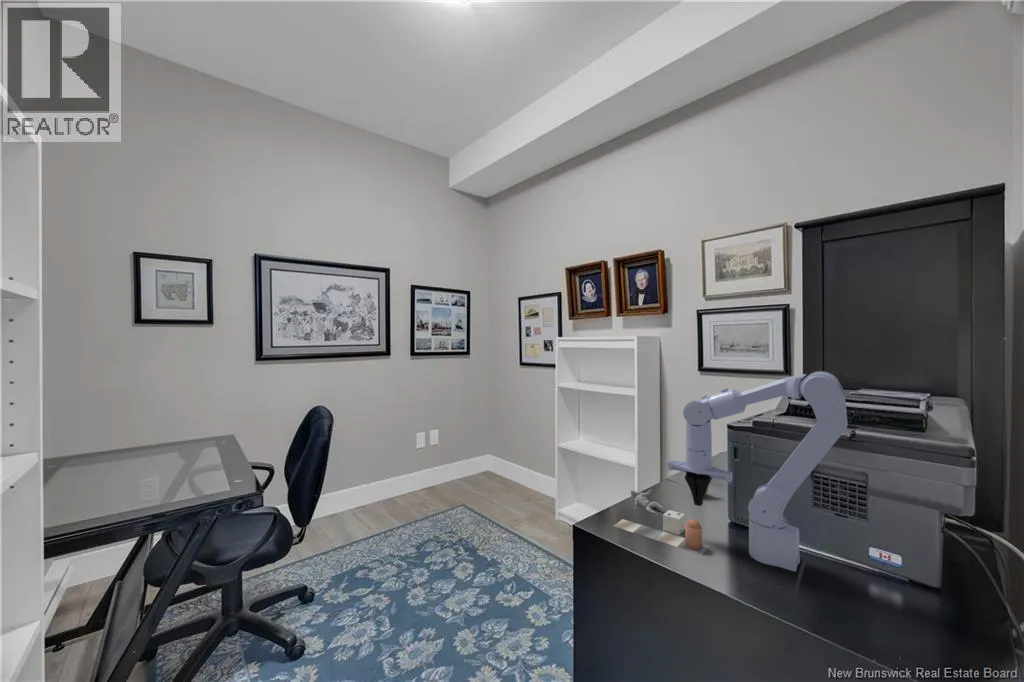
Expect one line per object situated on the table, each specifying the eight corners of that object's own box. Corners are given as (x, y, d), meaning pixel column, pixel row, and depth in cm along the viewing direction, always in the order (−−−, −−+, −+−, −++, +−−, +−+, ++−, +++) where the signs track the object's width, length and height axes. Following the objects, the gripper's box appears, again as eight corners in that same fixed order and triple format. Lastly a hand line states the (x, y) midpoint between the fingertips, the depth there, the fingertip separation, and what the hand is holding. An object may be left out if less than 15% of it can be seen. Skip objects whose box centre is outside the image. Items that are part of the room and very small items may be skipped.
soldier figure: (649, 523, 113) (619, 496, 122) (655, 531, 115) (625, 503, 125) (668, 502, 114) (636, 477, 124) (673, 510, 116) (641, 484, 126)
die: (684, 529, 105) (684, 513, 105) (679, 535, 102) (679, 518, 102) (668, 525, 108) (668, 509, 107) (663, 530, 104) (663, 514, 104)
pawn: (704, 545, 96) (704, 519, 96) (699, 551, 94) (699, 524, 94) (688, 541, 99) (688, 514, 99) (683, 546, 96) (683, 519, 96)
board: (717, 540, 101) (717, 537, 101) (702, 560, 92) (702, 556, 92) (631, 515, 115) (631, 512, 115) (610, 530, 106) (610, 526, 106)
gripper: (735, 450, 99) (735, 507, 99) (674, 441, 108) (674, 492, 109) (727, 457, 94) (727, 516, 94) (664, 446, 103) (664, 500, 103)
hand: (698, 504), depth 101 cm, fingers closed
